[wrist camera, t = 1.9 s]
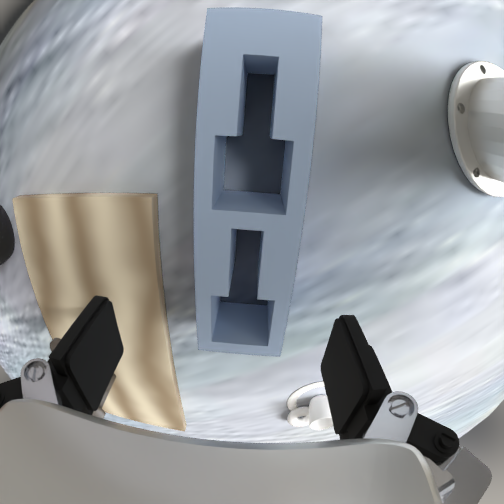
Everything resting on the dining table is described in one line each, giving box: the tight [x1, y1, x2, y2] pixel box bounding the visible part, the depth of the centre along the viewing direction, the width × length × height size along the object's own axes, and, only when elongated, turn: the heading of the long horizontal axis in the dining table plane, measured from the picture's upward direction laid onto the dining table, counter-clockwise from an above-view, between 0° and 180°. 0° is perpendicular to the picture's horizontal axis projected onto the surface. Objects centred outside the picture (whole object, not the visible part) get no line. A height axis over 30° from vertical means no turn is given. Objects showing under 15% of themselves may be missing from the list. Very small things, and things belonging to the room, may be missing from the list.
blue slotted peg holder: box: [194, 8, 322, 356], centre depth 17 cm, size 6×22×5 cm, turn 176°
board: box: [12, 193, 186, 431], centre depth 23 cm, size 16×32×7 cm, turn 176°
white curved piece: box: [287, 381, 333, 430], centre depth 28 cm, size 9×8×4 cm
